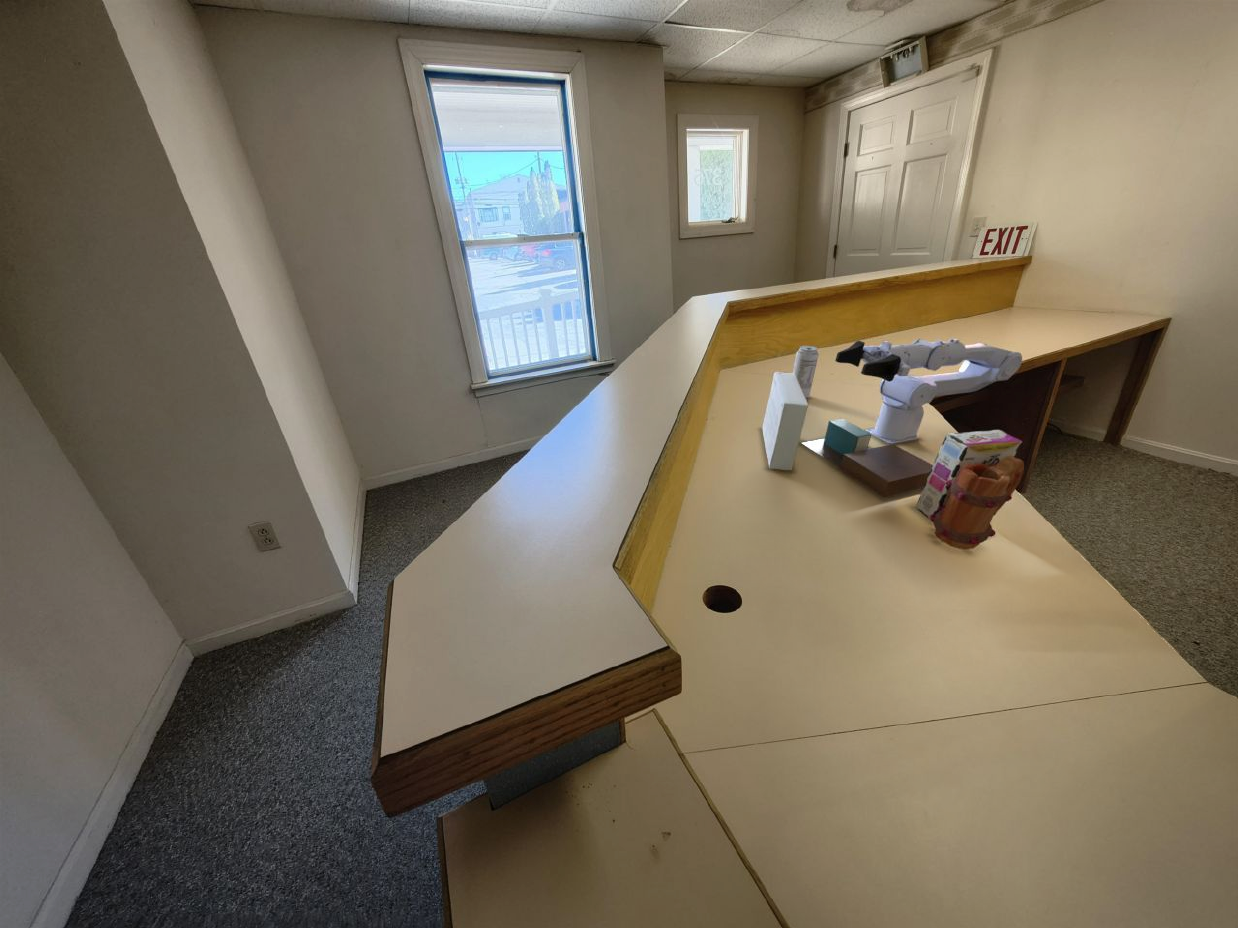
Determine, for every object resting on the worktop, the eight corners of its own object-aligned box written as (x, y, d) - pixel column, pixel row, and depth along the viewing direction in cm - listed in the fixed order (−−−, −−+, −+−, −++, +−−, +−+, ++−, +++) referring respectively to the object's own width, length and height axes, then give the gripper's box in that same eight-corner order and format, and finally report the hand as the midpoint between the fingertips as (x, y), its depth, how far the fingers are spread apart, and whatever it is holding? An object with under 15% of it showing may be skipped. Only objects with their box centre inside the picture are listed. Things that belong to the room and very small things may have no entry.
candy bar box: (933, 524, 84) (967, 445, 75) (913, 508, 88) (944, 432, 80) (985, 517, 85) (1024, 440, 77) (963, 502, 90) (998, 427, 81)
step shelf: (846, 435, 115) (850, 421, 113) (934, 485, 95) (941, 469, 93) (800, 444, 111) (804, 429, 109) (883, 498, 91) (888, 481, 89)
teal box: (836, 440, 112) (842, 418, 109) (865, 457, 105) (872, 434, 102) (823, 443, 111) (828, 420, 108) (851, 460, 103) (858, 437, 100)
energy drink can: (806, 393, 141) (816, 345, 133) (811, 400, 135) (822, 351, 128) (786, 392, 141) (795, 344, 133) (790, 400, 136) (800, 350, 128)
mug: (959, 562, 75) (997, 485, 67) (914, 533, 81) (944, 461, 74) (1014, 539, 80) (1055, 465, 72) (967, 513, 86) (1000, 444, 79)
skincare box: (794, 472, 100) (809, 405, 92) (768, 469, 101) (781, 403, 93) (783, 430, 118) (795, 371, 110) (761, 429, 119) (771, 370, 111)
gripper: (878, 331, 106) (832, 335, 102) (932, 351, 95) (883, 356, 91) (867, 360, 110) (823, 365, 106) (919, 382, 99) (871, 389, 95)
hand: (850, 363), depth 99 cm, fingers open, 7 cm apart
